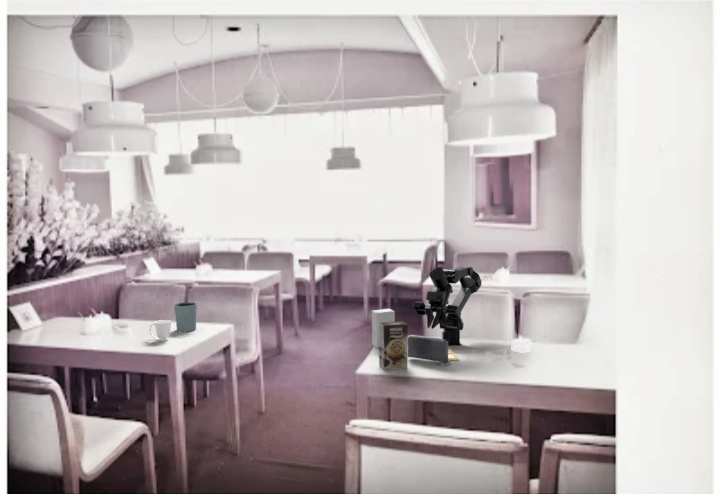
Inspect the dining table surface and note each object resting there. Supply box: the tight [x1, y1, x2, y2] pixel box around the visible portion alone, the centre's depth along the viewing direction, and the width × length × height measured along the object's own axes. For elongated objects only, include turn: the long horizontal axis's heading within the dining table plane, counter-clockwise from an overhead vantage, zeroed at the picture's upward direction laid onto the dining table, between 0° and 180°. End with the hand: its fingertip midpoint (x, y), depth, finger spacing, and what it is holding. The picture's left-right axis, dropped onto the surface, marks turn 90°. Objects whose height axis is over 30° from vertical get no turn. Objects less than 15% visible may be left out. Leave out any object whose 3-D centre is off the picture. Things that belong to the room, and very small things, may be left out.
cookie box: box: [378, 320, 409, 371], centre depth 228 cm, size 9×6×16 cm
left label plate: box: [448, 353, 460, 362], centre depth 240 cm, size 6×8×1 cm
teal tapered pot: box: [173, 302, 198, 333], centre depth 291 cm, size 10×10×12 cm
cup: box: [148, 319, 172, 342], centre depth 272 cm, size 7×10×8 cm
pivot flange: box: [437, 361, 452, 367], centre depth 231 cm, size 5×5×1 cm
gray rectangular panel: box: [408, 334, 449, 362], centre depth 234 cm, size 16×2×8 cm, turn 59°
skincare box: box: [371, 308, 396, 349], centre depth 258 cm, size 8×6×15 cm
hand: (430, 328), depth 243 cm, fingers closed
